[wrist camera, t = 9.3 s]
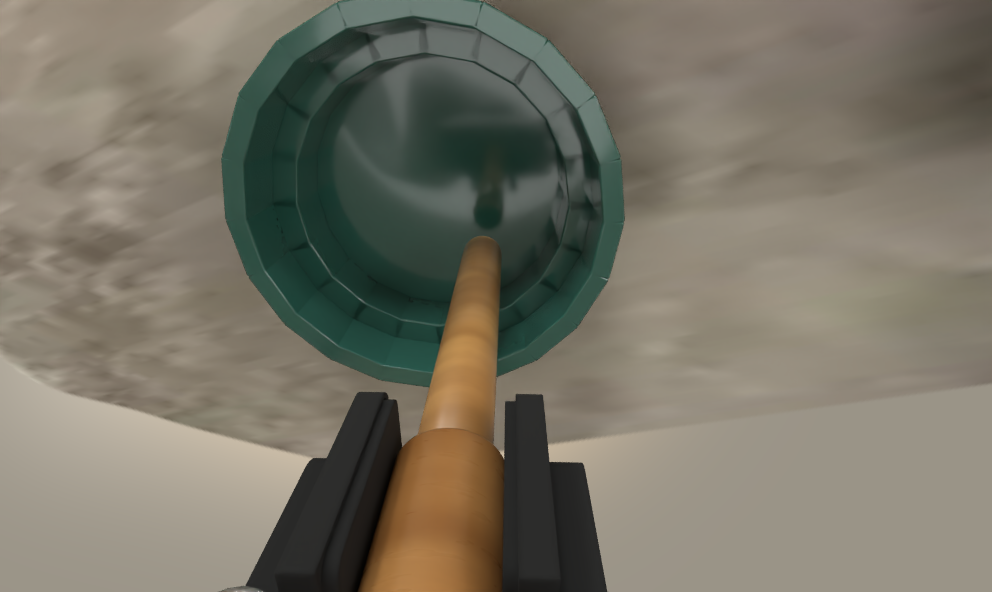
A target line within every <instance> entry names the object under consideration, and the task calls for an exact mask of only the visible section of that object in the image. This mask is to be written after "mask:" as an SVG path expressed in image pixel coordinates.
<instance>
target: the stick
mask: <svg viewBox="0 0 992 592" xmlns="http://www.w3.org/2000/svg"><path fill="white" fill-rule="evenodd" d="M501 258H502V254H501V249H500V247H499V245H498V244H497V242H496V241H495V240H493V239H492V238H490V237H486V236H478V237H475V238H473V239H471V240H470V241H469V242H468V243H467V244H466V246H465V248H464V251H463V255H462V259H461V263H460V267H459V271H458V275H457V279H456V283H455V287H454V291H453V295H452V299H451V303H450V307H449V311H448V315H447V319H446V323H445V327H444V331H443V335H442V339H441V343H440V347H439V351H438V355H437V359H436V363H435V368H434V372H433V376H432V380H431V384H430V388H429V392H428V396H427V400H426V404H425V408H424V412H423V416H422V420H421V424H420V428H419V432H418V435H417V436H415V437H413V438H412V439H411V440H409V441H408V442H407V443H406V444H405V445H404V446H403V447H402V449H401V450H400V451H399V453H398V455H397V457H396V460H395V464H394V467H393V471H392V474H391V477H390V481H389V484H388V488H387V491H386V495H385V498H384V502H383V505H382V509H381V512H380V516H379V519H378V523H377V526H376V529H375V533H374V536H373V540H372V543H371V547H370V550H369V554H368V557H367V561H366V564H365V568H364V571H363V574H362V578H361V581H360V585H359V588H358V592H502V581H503V513H504V459H503V457H502V455H501V454H500V452H499V451H498V449H497V448H496V447H495V446H494V445H493V441H494V418H495V395H496V372H497V350H498V327H499V304H500V281H501Z"/></svg>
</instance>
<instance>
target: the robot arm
mask: <svg viewBox="0 0 992 592" xmlns="http://www.w3.org/2000/svg"><path fill="white" fill-rule="evenodd" d="M401 449H402V443H401V433H400V423H399V413H398V404H397V401H396V400H389V399H388V395H387V393H386V392H359V393H357V395H356V396H355V398H354V401H353V403H352V405H351V407H350V409H349V411H348V414H347V416H346V418H345V420H344V422H343V424H342V427H341V429H340V431H339V433H338V435H337V437H336V439H335V442H334V444H333V446H332V448H331V450H330V452H329V455H328V457H327V458H313V459H312V460H310V461H309V463H308V464H307V466H306V467H305V469H304V471H303V473H302V475H301V477H300V479H299V481H298V483H297V485H296V487H295V489H294V491H293V493H292V495H291V497H290V499H289V501H288V503H287V505H286V507H285V509H284V511H283V513H282V515H281V517H280V519H279V521H278V523H277V525H276V527H275V529H274V531H273V533H272V535H271V537H270V538H269V540H268V542H267V544H266V546H265V548H264V551H263V552H262V554H261V556H260V558H259V560H258V562H257V564H256V566H255V568H254V570H253V572H252V574H251V576H250V578H249V580H248V582H247V584H246V586H240V587H233V588H227V589H225V590H222V591H219V592H358V588H359V585H360V581H361V578H362V574H363V571H364V568H365V564H366V561H367V557H368V554H369V550H370V547H371V543H372V540H373V536H374V533H375V529H376V526H377V523H378V519H379V516H380V512H381V509H382V505H383V502H384V498H385V495H386V491H387V488H388V484H389V481H390V477H391V474H392V471H393V467H394V464H395V460H396V457H397V455H398V453H399V451H400V450H401ZM504 456H505V457H504V513H503V581H502V592H607V589H606V583H605V577H604V572H603V566H602V561H601V555H600V550H599V544H598V539H597V533H596V528H595V522H594V517H593V511H592V506H591V500H590V495H589V490H588V484H587V479H586V473H585V469H584V465H583V463H570V462H568V463H567V462H549V453H548V443H547V433H546V423H545V412H544V402H543V395H536V394H516V401H505V450H504Z"/></svg>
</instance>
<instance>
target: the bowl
mask: <svg viewBox="0 0 992 592" xmlns="http://www.w3.org/2000/svg"><path fill="white" fill-rule="evenodd" d="M221 162H222V177H223V191H224V205H225V219H226V222H227V225H228V227H229V230H230V232H231V235H232V237H233V240H234V243H235V245H236V248H237V250H238V253H239V255H240V258H241V260H242V263H243V266H244V268H245V271H246V273H247V275H248V276H249V279H250V280H251V281H252V283H253V284H254V285H255V287H256V288H257V289H258V291H259V292H260V293H261V294H262V296H263V297H264V298H265V300H266V301H267V302H268V304H269V305H270V306H271V308H272V309H273V310H274V311H275V313H276V314H277V315H278V317H279V318H280V319H281V321H282V322H283V323H284V324H285V325H286V326H287V327H289V328H290V329H291V330H292V331H294V332H295V333H296V334H298V335H299V336H300V337H302V338H303V339H304V340H305V341H307V342H308V343H309V344H311V345H312V346H313V347H315V348H316V349H317V350H319V351H320V352H321V353H322V354H324V355H325V356H326V357H328V358H330V359H331V360H333V361H336V362H338V363H341V364H343V365H345V366H348V367H350V368H352V369H355V370H357V371H359V372H362V373H364V374H367V375H369V376H371V377H374V378H376V379H378V380H382V381H389V382H395V383H402V384H409V385H416V386H423V387H430V384H431V380H432V376H433V372H434V368H435V363H436V359H437V355H438V351H439V347H440V343H441V339H442V335H443V331H444V327H445V323H446V319H447V315H448V311H449V307H450V303H451V299H452V295H453V291H454V287H455V283H456V279H457V275H458V271H459V267H460V263H461V259H462V255H463V251H464V248H465V246H466V244H467V243H468V242H469V241H470V240H471V239H473V238H475V237H478V236H486V237H490V238H492V239H493V240H495V241H496V242H497V244H498V245H499V247H500V249H501V254H502V258H501V281H500V304H499V327H498V350H497V372H496V377H498V376H500V375H503V374H505V373H508V372H510V371H512V370H515V369H517V368H520V367H522V366H524V365H527V364H529V363H532V362H534V361H535V360H536V361H537V360H538V359H539V358H540V357H542V356H543V355H544V354H545V353H547V352H548V351H549V350H550V349H552V348H553V347H554V346H555V345H556V344H558V343H559V342H560V341H561V340H563V339H564V338H565V337H566V336H567V335H569V334H570V333H571V332H572V331H574V330H575V329H576V328H577V327H578V325H579V324H580V323H581V321H582V320H583V318H584V317H585V315H586V314H587V312H588V311H589V309H590V307H591V306H592V304H593V303H594V301H595V300H596V298H597V297H598V295H599V294H600V292H601V291H602V289H603V288H604V286H605V285H606V283H607V282H608V279H609V277H610V274H611V270H612V267H613V263H614V259H615V256H616V252H617V248H618V245H619V241H620V237H621V234H622V230H623V226H624V221H625V216H624V198H623V179H622V161H621V159H620V154H619V151H618V149H617V146H616V144H615V141H614V139H613V136H612V134H611V131H610V129H609V126H608V124H607V121H606V119H605V116H604V114H603V111H602V109H601V106H600V104H599V101H598V99H597V96H595V93H594V92H593V90H592V89H591V88H590V87H589V86H588V85H587V83H586V82H585V81H584V80H583V79H582V78H581V76H580V75H579V74H578V73H577V72H576V71H575V69H574V68H573V67H572V66H571V65H570V64H569V62H568V61H567V60H566V59H565V58H564V57H563V55H562V54H561V53H560V52H559V51H558V50H557V48H556V47H555V46H554V45H553V44H552V43H551V41H550V40H548V39H547V38H546V37H544V36H542V35H541V34H539V33H537V32H536V31H534V30H532V29H530V28H529V27H527V26H525V25H523V24H522V23H520V22H518V21H517V20H515V19H513V18H511V17H510V16H508V15H506V14H505V13H503V12H501V11H499V10H498V9H496V8H494V7H492V6H491V5H489V4H487V3H486V2H482V1H479V0H343V1H338V2H337V3H334V4H333V5H331V6H329V7H328V8H326V9H325V10H323V11H322V12H320V13H318V14H317V15H315V16H314V17H312V18H311V19H309V20H307V21H306V22H304V23H303V24H301V25H300V26H298V27H297V28H295V29H293V30H292V31H290V32H289V33H287V34H286V35H284V36H282V37H281V38H279V40H277V41H276V42H275V44H274V45H273V46H272V48H271V49H270V50H269V52H268V53H267V55H266V56H265V57H264V59H263V60H262V62H261V63H260V64H259V66H258V67H257V69H256V70H255V71H254V73H253V74H252V75H251V77H250V78H249V80H248V81H247V82H246V84H245V85H244V87H243V88H242V89H241V91H240V92H239V96H238V98H237V102H236V105H235V109H234V113H233V116H232V120H231V124H230V127H229V131H228V135H227V139H226V142H225V146H224V150H223V153H222V158H221Z"/></svg>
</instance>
